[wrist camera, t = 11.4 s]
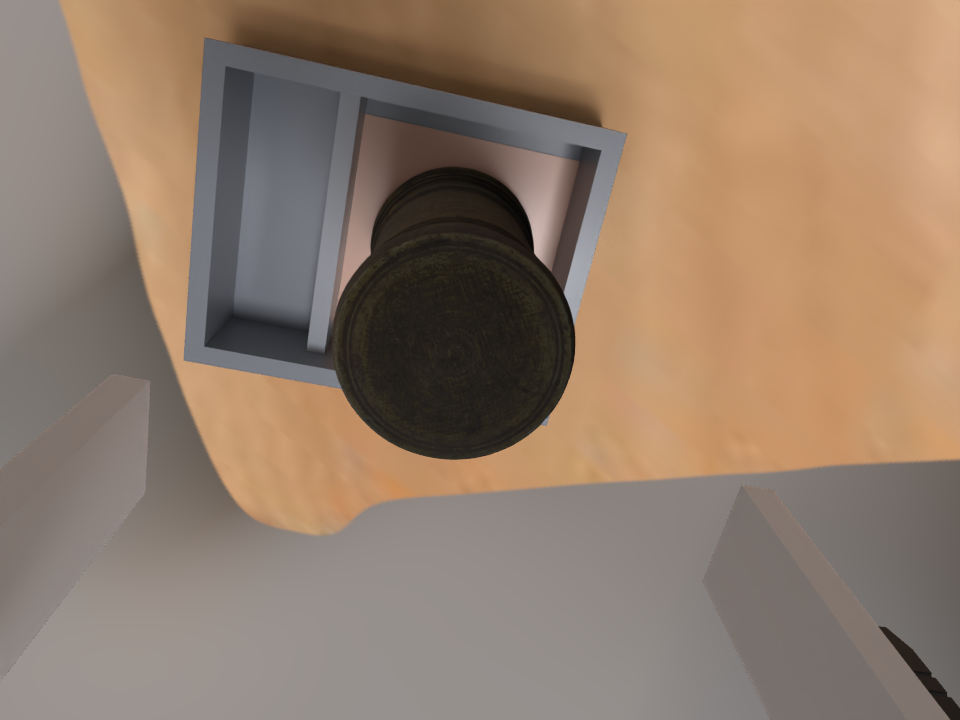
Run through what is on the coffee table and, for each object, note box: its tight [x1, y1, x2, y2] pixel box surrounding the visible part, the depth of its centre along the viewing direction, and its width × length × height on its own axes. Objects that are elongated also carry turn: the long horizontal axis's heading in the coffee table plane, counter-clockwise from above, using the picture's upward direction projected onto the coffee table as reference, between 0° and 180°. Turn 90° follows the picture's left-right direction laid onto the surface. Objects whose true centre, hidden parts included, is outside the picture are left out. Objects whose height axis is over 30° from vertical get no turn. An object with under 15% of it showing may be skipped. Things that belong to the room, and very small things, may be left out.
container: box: [332, 167, 575, 460], centre depth 32 cm, size 9×9×18 cm
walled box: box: [184, 38, 627, 426], centre depth 38 cm, size 16×20×6 cm
